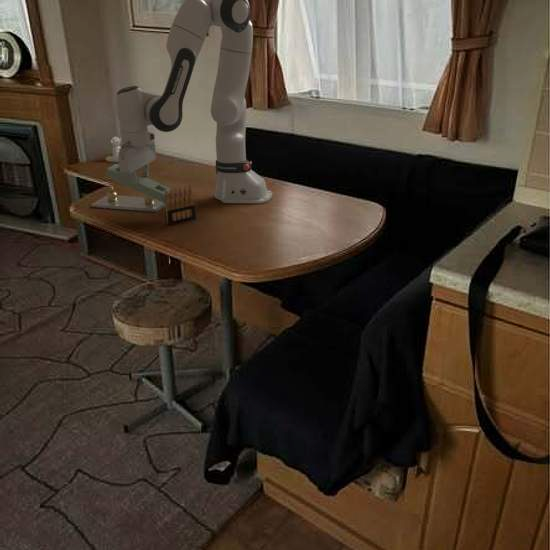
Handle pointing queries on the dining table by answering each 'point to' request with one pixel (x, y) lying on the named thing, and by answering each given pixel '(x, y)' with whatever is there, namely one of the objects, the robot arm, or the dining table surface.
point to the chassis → (129, 202)
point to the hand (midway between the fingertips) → (140, 179)
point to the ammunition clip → (179, 207)
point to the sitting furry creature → (114, 150)
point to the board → (139, 183)
